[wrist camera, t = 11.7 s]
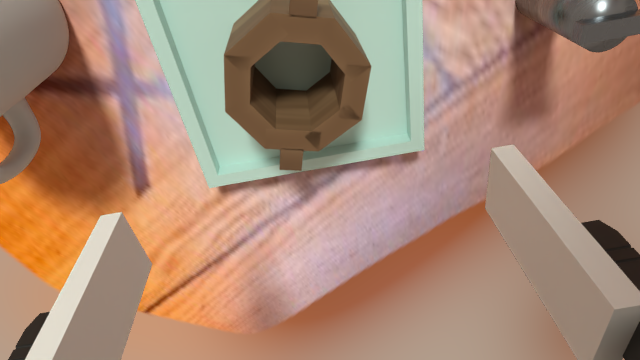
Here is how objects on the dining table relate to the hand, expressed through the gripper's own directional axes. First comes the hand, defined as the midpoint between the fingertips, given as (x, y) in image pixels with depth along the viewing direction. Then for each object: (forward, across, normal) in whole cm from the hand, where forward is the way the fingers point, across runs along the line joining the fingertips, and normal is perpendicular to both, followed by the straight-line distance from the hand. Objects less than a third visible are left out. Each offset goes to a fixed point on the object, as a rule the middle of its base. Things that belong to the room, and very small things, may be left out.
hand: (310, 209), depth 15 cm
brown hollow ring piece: (+16, 0, 0) cm, 17 cm away
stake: (+18, +17, +1) cm, 24 cm away
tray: (+18, 0, 0) cm, 18 cm away
